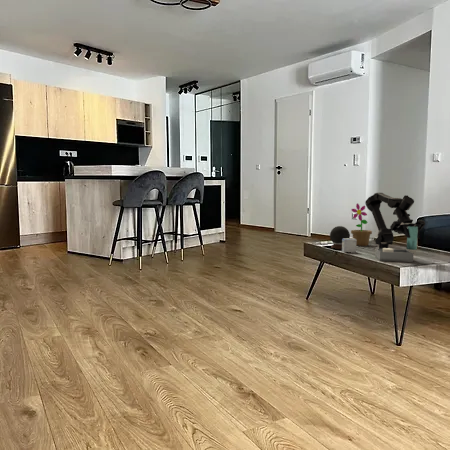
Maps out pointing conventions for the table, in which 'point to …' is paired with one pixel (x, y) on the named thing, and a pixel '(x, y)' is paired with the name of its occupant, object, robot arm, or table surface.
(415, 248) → the teal tin
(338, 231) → the black round ball shape
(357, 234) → the flowerpot
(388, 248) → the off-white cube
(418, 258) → the table surface
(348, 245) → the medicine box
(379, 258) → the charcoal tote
